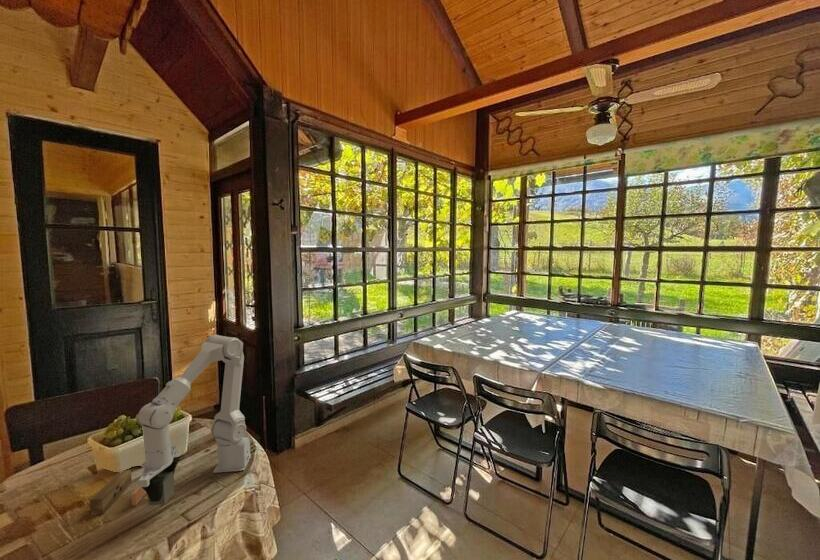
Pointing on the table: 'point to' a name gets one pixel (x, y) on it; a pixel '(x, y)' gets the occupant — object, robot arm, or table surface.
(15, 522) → the table surface
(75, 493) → the table surface
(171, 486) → the plug
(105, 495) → the socket housing
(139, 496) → the orange flat block
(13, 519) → the table surface
